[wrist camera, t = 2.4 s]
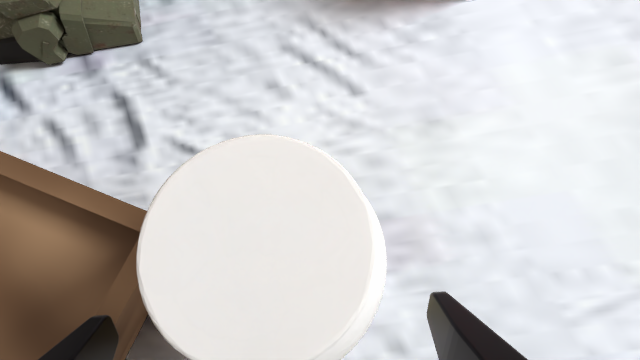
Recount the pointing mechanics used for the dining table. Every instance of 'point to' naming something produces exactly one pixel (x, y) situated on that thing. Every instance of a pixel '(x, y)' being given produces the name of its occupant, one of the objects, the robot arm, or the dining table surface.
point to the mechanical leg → (65, 28)
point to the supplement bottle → (261, 254)
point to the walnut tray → (63, 261)
